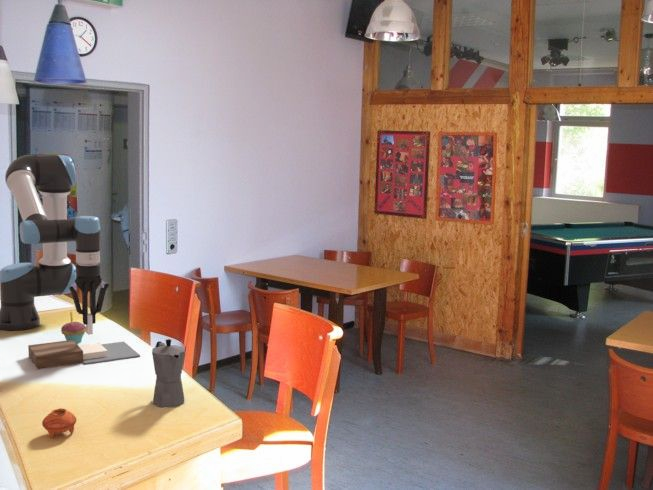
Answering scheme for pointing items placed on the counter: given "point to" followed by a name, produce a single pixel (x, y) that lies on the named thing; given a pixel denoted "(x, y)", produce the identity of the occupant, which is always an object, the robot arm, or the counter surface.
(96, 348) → the cream rectangular block
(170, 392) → the coffeepot
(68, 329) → the cupcake
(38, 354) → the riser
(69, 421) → the pot
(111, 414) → the counter surface
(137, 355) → the mat
